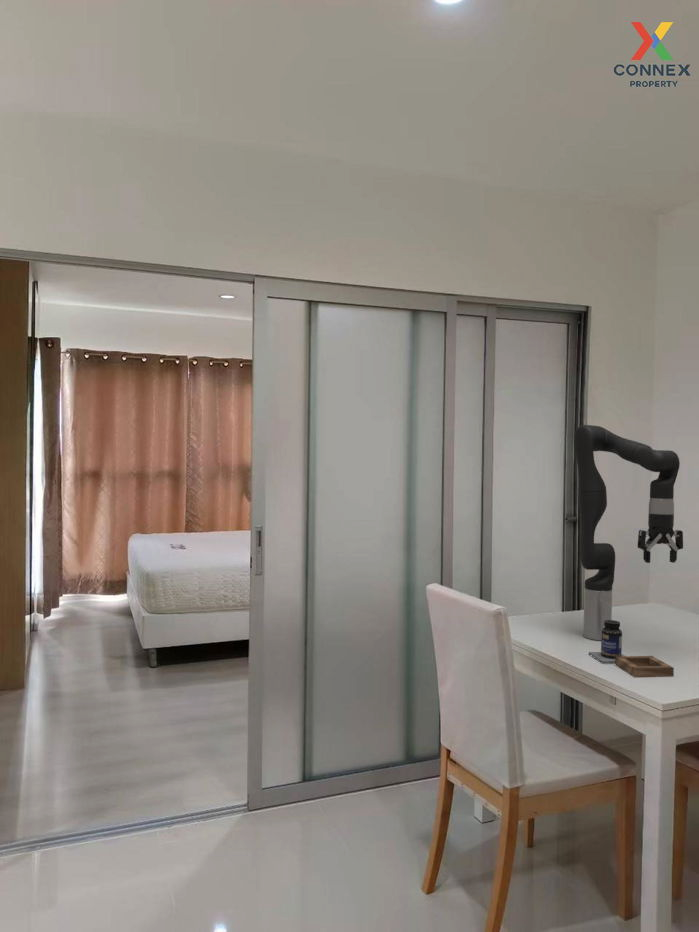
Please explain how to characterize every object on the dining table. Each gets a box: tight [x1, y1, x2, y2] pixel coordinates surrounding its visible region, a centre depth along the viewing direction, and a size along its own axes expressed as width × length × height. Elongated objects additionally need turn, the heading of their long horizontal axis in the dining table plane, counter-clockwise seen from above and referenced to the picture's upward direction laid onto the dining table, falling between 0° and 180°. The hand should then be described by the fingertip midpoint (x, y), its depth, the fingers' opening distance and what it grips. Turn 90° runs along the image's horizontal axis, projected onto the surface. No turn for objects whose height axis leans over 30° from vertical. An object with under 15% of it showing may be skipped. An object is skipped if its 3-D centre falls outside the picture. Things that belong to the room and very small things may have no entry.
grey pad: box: [588, 651, 626, 664], centre depth 228 cm, size 10×10×1 cm
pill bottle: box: [600, 619, 623, 659], centre depth 227 cm, size 6×6×11 cm
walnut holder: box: [614, 655, 675, 678], centre depth 216 cm, size 12×12×2 cm
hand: (659, 562), depth 232 cm, fingers open, 8 cm apart
